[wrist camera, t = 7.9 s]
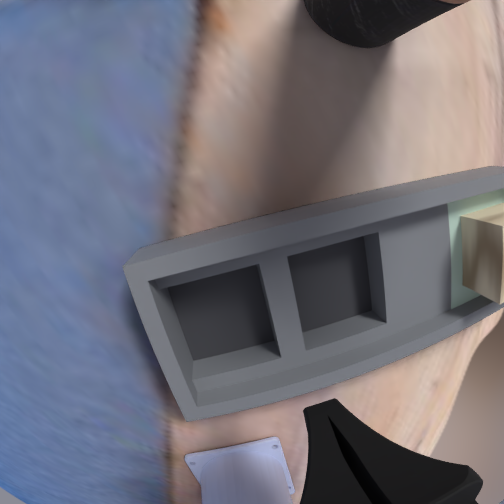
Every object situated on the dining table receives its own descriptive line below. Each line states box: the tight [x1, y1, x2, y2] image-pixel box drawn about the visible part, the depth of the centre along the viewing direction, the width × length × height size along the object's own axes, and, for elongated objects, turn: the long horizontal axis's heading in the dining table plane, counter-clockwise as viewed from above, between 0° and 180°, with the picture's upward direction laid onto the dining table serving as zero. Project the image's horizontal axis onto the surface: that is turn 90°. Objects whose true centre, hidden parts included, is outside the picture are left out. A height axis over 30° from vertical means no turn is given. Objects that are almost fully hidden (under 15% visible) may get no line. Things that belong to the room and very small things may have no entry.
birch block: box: [460, 203, 504, 304], centre depth 17 cm, size 5×5×4 cm
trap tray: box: [123, 166, 504, 422], centre depth 19 cm, size 10×27×4 cm, turn 103°
